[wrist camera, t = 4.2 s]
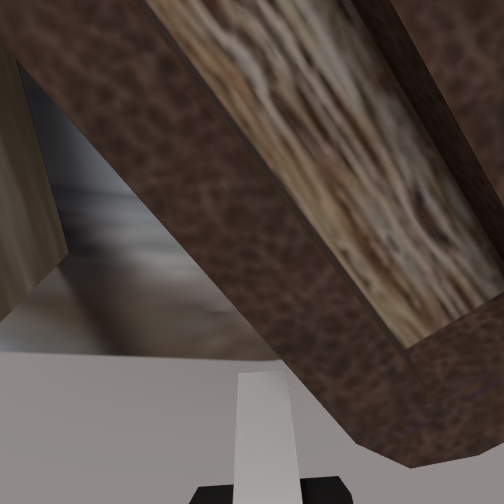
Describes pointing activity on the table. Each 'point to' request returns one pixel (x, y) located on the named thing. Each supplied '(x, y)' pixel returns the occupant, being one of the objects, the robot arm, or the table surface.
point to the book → (316, 184)
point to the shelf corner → (23, 196)
